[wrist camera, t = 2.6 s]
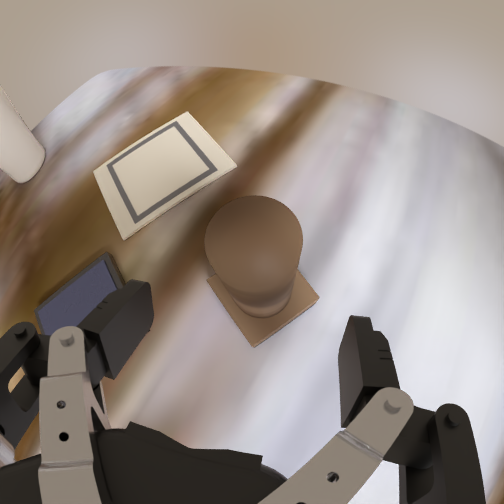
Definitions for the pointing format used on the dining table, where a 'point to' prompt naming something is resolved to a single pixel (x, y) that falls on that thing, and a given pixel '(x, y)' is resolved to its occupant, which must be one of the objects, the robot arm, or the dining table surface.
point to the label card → (160, 172)
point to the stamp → (258, 265)
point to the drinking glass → (17, 144)
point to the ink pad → (79, 295)
